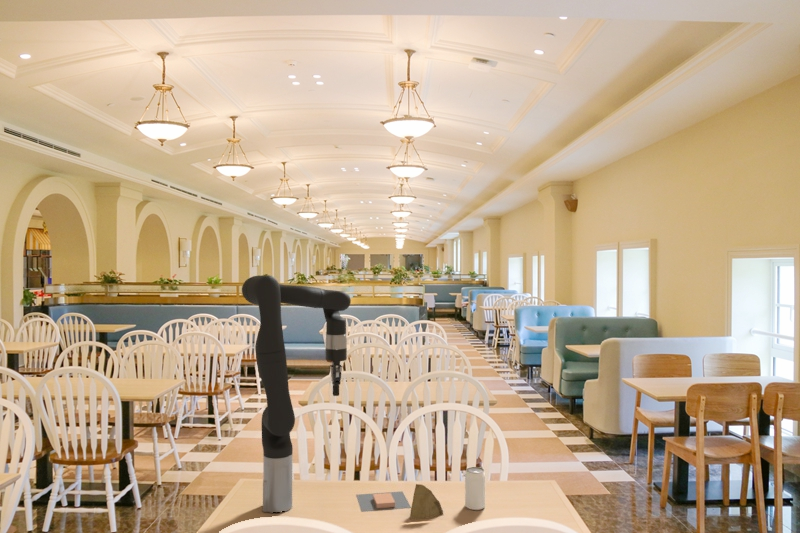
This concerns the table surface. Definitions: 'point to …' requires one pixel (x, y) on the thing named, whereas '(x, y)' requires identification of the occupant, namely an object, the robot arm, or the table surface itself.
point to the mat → (369, 505)
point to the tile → (383, 500)
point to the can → (475, 488)
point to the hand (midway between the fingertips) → (335, 395)
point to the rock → (424, 504)
